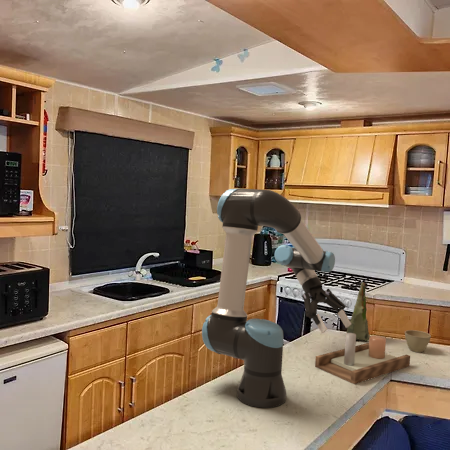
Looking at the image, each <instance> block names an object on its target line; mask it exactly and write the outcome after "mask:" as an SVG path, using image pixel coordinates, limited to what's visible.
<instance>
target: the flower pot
mask: <svg viewBox="0 0 450 450" xmlns="http://www.w3.org/2000/svg"><path fill="white" fill-rule="evenodd" d="M404 337H405V342H406V344H407V346H408V349H409V350H410V351H412V352H415V353H422V352H424V351H425V350H426V348H427V347H428V345H429V343H430V342H431V341H430V340H431V334H430V333H428V332H426V331H422V330H414V329H409V330H405V331H404Z"/></svg>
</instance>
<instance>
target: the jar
mask: <svg viewBox="0 0 450 450" xmlns="http://www.w3.org/2000/svg"><path fill="white" fill-rule="evenodd" d="M386 342H387V338H386V337H384V336H382V335H381V336H380V335H369V340H368V343H369V356H370V357H372V358H376V359H383V358H385V353H386V346H387V345H386Z"/></svg>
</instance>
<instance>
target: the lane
mask: <svg viewBox="0 0 450 450" xmlns="http://www.w3.org/2000/svg"><path fill="white" fill-rule="evenodd" d="M367 349H369V342H367V343H361V344H358V345H356V346H355V353H356V352H359V351H363V350H367ZM341 356H345V348H343V349H342V348H341V349H339V350H335V351H331V352H327V353H323V354H319V355H315V361H314V367H315V368H317V369H319V370H321V371H324V372H326V373H328V374H330V375H333V376H335V377H336V378H340V379H342V380H344V381H346V382H349V383H351V384H353V385H356V384H359V383H362V381H363V382H366V381H369V380H372V379H374V377H375V378H378V377H380V376H383V375H386V374H387V375H388V374H390V373H392V372H393V373H394V372H395V371H399V370H402V369H404V368H408V367H411V366H410V363H411V355H409V354H404V355H401V356H396V357H397V358H393V359H390V360H387V361H383V362H380V363H377V364H374V365H370V366H367V367H364V368H360V369H357V370H354V371H351V370H348V369H346V368H343V367H341V366H339V365H336V364H334V363H331V359H333V358H337V357H341ZM371 378H372V379H371ZM368 379H369V380H368ZM365 380H366V381H365Z"/></svg>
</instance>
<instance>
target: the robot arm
mask: <svg viewBox="0 0 450 450" xmlns="http://www.w3.org/2000/svg"><path fill="white" fill-rule="evenodd" d="M216 212H217V215H218V216H217V218H218V220H219V221H220V222H221V223H222V225H221V226H222V227H221V228H222V229H223V231H224V232H225V241H224V248H223V256H222V257H223V258H222V264H221V265H222V266H221V273H220V280H219V281H220V282H219V291H218V298H217V306H216V307H215V308H213V309H212V310H211V314H210V315H208V316H207V317H206V318H205V321H204V322H203V324H202V328H201V337H202V342H203V345H205V348H207V349H208V350H209V351H211V352H214V353H216V354H218V355H224V356H228V357H231V358H235V359H238V360H242V361H243V365H244V366H243V373H242V376H241V378H240V381H239V383H238V386H237V390H236V391H237V393H236V395H237V397H236V398H237V399H238V400H239V401H240V402H241V403H243V404H245V405H247V406H250V407H254V408H262V409H264V408H265V409H267V408H276V407H279V406H281V405H283V404H284V403H285V402H286V401H287V390H286V386H285V382H284V378H283V375H282V372H283V371H282V370H283V368H282V367H283V355H284V354H283V353H284V343H285V341H284V330H283V328H282V327H281V325H279V324H278V323H276V322H274V321H272V320H268V319H265V318H262V319H261V318H250V319H248V314H247V312H246V311H245V310H244V306H245V300H246V299H245V298H246V291H247V283H248V273H249V266H250V257H251V251H252V250H251V249H252V240H253V236H254V235H256V234H257V233H258V231H259V230H258V229H259V227H269V228H272V229H275V230H276V232H277V233H279V234H283V235H284V237H285V238H286V239H287V240H288V242H289V243H290V244H291V245H292V246H290V245H286V244H282V245H279V246H278V247H276V249H275V251H274V259H275V261H276V262H277V263H278V264H280V265H281V266H285V267H286V268H289V269H291V270H292V272H293V274H294V275H295V277H296V279H297V281H298V283H299V284H300V286H301V288H302V290H303V291H304V293H303V294H302V296H301V297H302V299H303V302H304V304H303V305H304V309H305V310H304V311H305V316H306V318H309V320H313V322H314V324H315V325H316V326H317V327H318V330H319V331H320V333H321V334H324V333H326V331H327V330H328V328H327V326H326V323H324V321H323V319H322V317H321V315H320V314H319V313H318V314H317V312H318V304H320V303H323V304H327V306H329V307H330V308H332V309H334V310H335V311H336V312H337V313H336V314H337V315H338V317H339V318H340V320H341V322H342V324H343V326H344V327H345V329H348V327H349V326H350V325H351V322H350V319H349V318H348V314H347V313H346V312H345V309H346V308H347V306H346V305H345V303H344V302H342V301H341V299H339V298H338V297H337V296H336V295H335V294H334V293H333V292H332V290H331V289H330V288H326V289H324V288H323V283H322V281H321V280H320V278H319V277H318V275H317V273H316V271H317V272H322V273H323V272H326V273H330V272H332V271H333V269H334V267H335V263H336V257H335V254H334V252H332V251H328V250H324V249H323V248H322V246H321V245H320V244H319V242H318V241H317V240H316V238H315V237H314V236H313V234H312V233H311V231H310V230H309V229H308V227H307V226H306V225H305V223H304V222H303V220H302V214H301V212H300V210H298V208H297V207H296V206H295V205H294V204H293V203H292V202H291V201H290V200H289V199H287V198H286V197H284V196H283V195H282V194H280V193H278V192H276V191H274V190H270V189H258V188H257V189H254V188H241V187H239V188H230V189H227V190H225V191H224V192H223V193H222V194H221V196H220V198H219V200H218V202H217V206H216Z"/></svg>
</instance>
